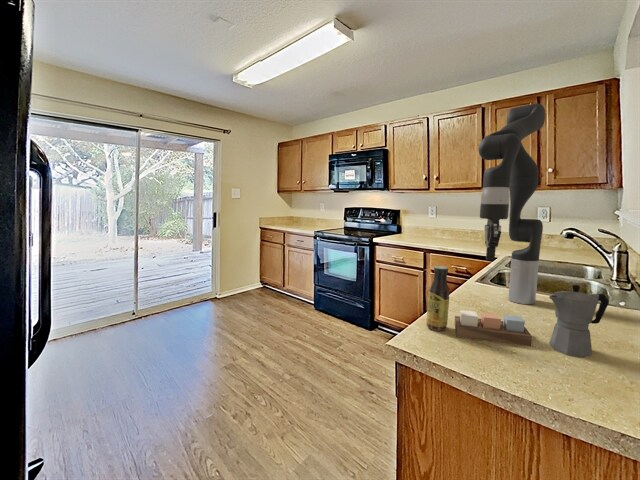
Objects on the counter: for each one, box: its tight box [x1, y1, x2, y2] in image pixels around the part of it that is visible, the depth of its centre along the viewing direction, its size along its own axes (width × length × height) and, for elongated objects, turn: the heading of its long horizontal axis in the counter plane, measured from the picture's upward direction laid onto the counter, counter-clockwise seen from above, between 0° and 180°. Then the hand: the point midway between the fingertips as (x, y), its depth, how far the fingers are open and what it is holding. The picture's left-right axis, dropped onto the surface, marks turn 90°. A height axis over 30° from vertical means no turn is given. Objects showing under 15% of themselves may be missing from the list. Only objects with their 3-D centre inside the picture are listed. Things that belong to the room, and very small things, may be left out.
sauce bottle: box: [426, 265, 451, 332], centre depth 99 cm, size 7×6×20 cm
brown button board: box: [453, 315, 533, 348], centre depth 95 cm, size 10×19×3 cm, turn 71°
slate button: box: [502, 314, 525, 332], centre depth 93 cm, size 4×4×4 cm
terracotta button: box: [480, 312, 502, 329], centre depth 95 cm, size 4×4×4 cm
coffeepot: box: [548, 284, 610, 358], centre depth 85 cm, size 15×9×18 cm, turn 89°
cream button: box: [459, 309, 479, 327], centre depth 97 cm, size 4×4×4 cm
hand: (490, 259), depth 97 cm, fingers closed
